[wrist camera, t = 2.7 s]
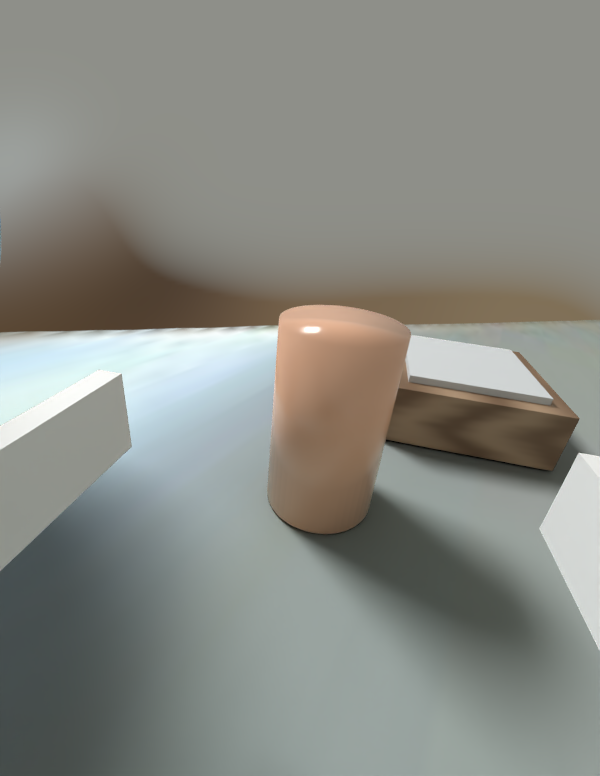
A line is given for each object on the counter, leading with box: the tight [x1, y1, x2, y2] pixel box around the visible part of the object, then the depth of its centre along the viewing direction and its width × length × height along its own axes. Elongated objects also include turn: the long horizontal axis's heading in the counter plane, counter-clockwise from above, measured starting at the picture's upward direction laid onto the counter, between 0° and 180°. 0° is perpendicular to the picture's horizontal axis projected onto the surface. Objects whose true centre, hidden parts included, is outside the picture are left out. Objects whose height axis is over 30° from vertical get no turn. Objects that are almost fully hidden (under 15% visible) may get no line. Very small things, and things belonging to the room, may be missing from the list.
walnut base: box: [386, 335, 579, 471], centre depth 36 cm, size 14×14×6 cm
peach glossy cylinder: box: [267, 305, 411, 534], centre depth 23 cm, size 7×7×12 cm
